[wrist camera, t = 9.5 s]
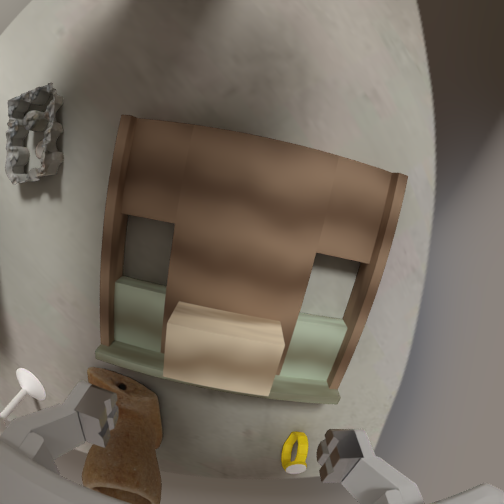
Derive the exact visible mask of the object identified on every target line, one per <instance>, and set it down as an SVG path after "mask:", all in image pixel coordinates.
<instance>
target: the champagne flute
mask: <svg viewBox="0 0 504 504" xmlns="http://www.w3.org/2000/svg"><path fill="white" fill-rule="evenodd" d="M16 376H17V379H18V381H19V383H20V385H21V387H22V389H21V390H20V392H19V393H18V394H17V395H16V396H15V397H14V398H13V400H12V401H11V402H10V403H9V404H8V405H7V406H6V408H5V409H4V410H3V411H2V412H1V413H0V436H1V434H2V433H3V432H4V430H5V429H6V428H7V427H6V424H5V422H4V421H5V420H6V419H7V417H8V416H9V415H10V414H11V412H12V411H13V410H14V409H15V408H16V406H17V405H18V404H19V403H20V402H21V400H22V399H23V398H24V397H25V396H26V395H27V394H28V395H30V396H31V397H33V398H35V399H38V400H44V399H45V397H46V393H45V390H44V387H43V386H42V384H41V383H40V381H39V380H38V379H37V378H36V377H35V376H34V375H33V374H32V373H31V372H29V371H28V370H26V369H24V368H18V369H17V371H16Z"/></svg>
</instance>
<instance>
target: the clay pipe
mask: <svg viewBox="0 0 504 504" xmlns="http://www.w3.org/2000/svg"><path fill="white" fill-rule="evenodd" d="M87 374H88V381H89V383H90V384H93V385H96V386H98V387H101V388H103V389H106V390H109V391H112V392H114V393H116V394H117V399H118V400H117V402H116V405H117V406H118V409H119V415H118V420H117V424H116V426H115V428H114V429H112V430H110V436H111V437H110V439H109V441H108V443H107V445H106V447H105V448H103V447H100V446H98V445H95V444H93V445H92V447H91V448H90V450H89V452H88V455H87V458H86V461H85V465H84V468H83V472H82V481H83V485H84V486H85V487H87V488H90V489H92V490H95V491H97V492H100V493H102V494H105V495H108V496H110V497H113V498H116V499H119V500H122V501H125V502H128V503H131V504H160V500H161V485H162V484H161V477H160V471H159V467H158V462H157V458H156V452H155V449H157V448H158V447H159V446H160V444H161V441H162V424H161V416H160V410H159V401H158V397H157V395H156V394H155V393H154V392H152V391H151V390H149V389H148V388H146V387H145V386H144V385H142V384H140V383H138V382H137V381H135V380H133V379H131V378H129V377H127V376H123V375H121V374H119V373H116V372H114V371H110V370H106V369H102V368H96V367H90V368H88V370H87Z"/></svg>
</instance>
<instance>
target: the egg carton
mask: <svg viewBox="0 0 504 504" xmlns="http://www.w3.org/2000/svg"><path fill="white" fill-rule="evenodd" d="M52 84H53V83H48V85H46V86H43V87H37V88H36V89H34V90H31V91H28V92H26V93H23V94H21V95H20V96H18V97H15V98H12V99H10V100H8V116H9V122H8V123H7V125H8V126H9V128H8V130H7V131H6V137H7V145H6V150H7V158H6V165H5V171H6V174H7V176H8V178H9V179H10V181H11V182H12V183H13V184H17V183H23V182H29V181H37V180H40V178H39V177H41V176H50V175H56V174H57V170H58V167H59V165H60V164H61V163H62V162H63V153H62V152H59V151H58V150H57V148H56V140H57V138H58V136H59V135H60V134H61V133H63V130H62V124H60V123H58V122H57V121H56V112H57V110H58V109H59V107H60V106H62V105H63V97H61V96H58V95H57V92H56V89H54V88H53V86H52ZM50 94H53V100H52V101H50V104H49V105H48V106H47V108H46V111H45V112H41V111H37V110H33V111H29V112H28V113H27V114H26V116H25V117H24V113H25V112H26V111H27V110H28V108H29V106H30V103H32V104H36V105H43V104H45V103H46V102H47V100H48V98H49V95H50ZM42 111H43V110H42ZM48 122H52V124H51V126H50V127H49V128H48V129H47V130H46V131H45V132H44V139H43V140H41V141H40V142H39V143H38V144H37V146H36V151H35V153H36V156H37V157H38V158H39V159H41V164H42V166H41V168H33V169H31V170H30V171H29V172H28V174H25V173H24V165H26V164H27V162H28V160H29V157H30V152H29V149H28V148H27V147H23V139H24V138H25V137H26V136H27V134H28V132H29V130H31V131H38V132H41V131H43V130H44V129H45V128H46V127H47V125H48Z"/></svg>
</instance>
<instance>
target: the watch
mask: <svg viewBox="0 0 504 504" xmlns="http://www.w3.org/2000/svg"><path fill="white" fill-rule="evenodd" d="M296 440H298V449H297V455H296V458H295V460H294V461H292V462H291V452H292V448H293V445H294V443H295V442H296ZM307 453H308V439H307V436H306V435H305V433H302V432H292V433H291V434H290V436H289V437H288V439H287V440H286V442H284V445H283V449H282V455H281V463H282V467H283V469H284V470H285V471H286V472H287V473H289V474H298V473H302V472H304V471H305V470H306V469H307V464H306V463H305V460H306V457H307Z"/></svg>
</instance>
